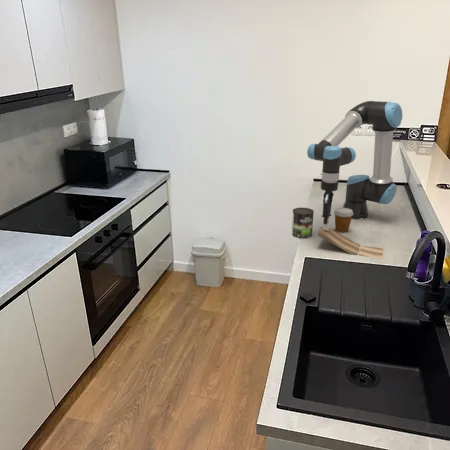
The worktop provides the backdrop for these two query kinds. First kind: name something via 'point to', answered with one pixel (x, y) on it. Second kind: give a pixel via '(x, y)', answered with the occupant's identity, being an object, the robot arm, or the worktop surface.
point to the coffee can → (302, 222)
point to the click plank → (340, 241)
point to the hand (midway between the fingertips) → (325, 229)
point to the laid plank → (371, 252)
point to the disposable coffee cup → (342, 219)
